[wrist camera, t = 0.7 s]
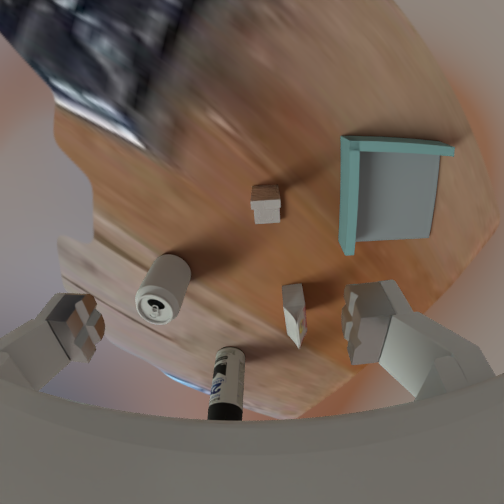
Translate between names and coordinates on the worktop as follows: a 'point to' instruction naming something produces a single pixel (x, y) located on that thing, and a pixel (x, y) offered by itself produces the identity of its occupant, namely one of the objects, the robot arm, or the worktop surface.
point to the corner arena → (387, 188)
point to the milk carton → (295, 312)
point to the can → (163, 289)
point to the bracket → (266, 204)
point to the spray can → (227, 386)
